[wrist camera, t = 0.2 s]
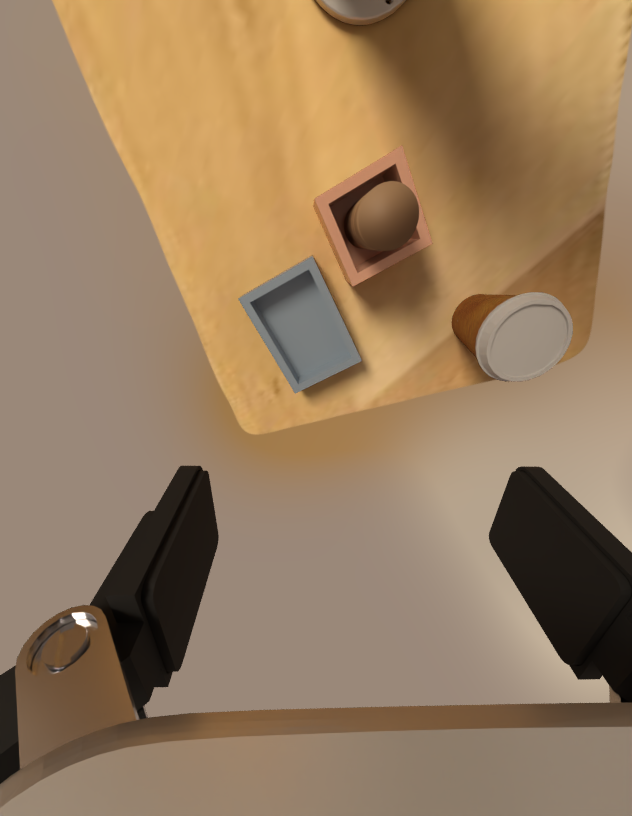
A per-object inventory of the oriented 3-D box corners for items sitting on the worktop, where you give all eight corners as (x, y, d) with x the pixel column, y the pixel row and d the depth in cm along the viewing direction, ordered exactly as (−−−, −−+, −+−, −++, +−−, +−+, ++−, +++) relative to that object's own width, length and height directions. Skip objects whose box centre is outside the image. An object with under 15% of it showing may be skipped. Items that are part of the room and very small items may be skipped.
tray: (243, 294, 42) (238, 298, 38) (312, 255, 40) (312, 256, 37) (296, 383, 47) (295, 393, 44) (358, 352, 45) (362, 360, 42)
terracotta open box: (313, 206, 37) (314, 198, 31) (385, 162, 36) (402, 145, 29) (346, 280, 41) (352, 286, 35) (412, 243, 39) (432, 243, 33)
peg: (336, 214, 37) (348, 202, 26) (377, 190, 36) (406, 167, 25) (354, 256, 39) (372, 262, 28) (393, 235, 38) (427, 232, 27)
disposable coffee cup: (444, 361, 46) (485, 396, 36) (435, 294, 42) (478, 312, 31) (512, 340, 45) (575, 370, 35) (509, 270, 41) (580, 280, 30)
